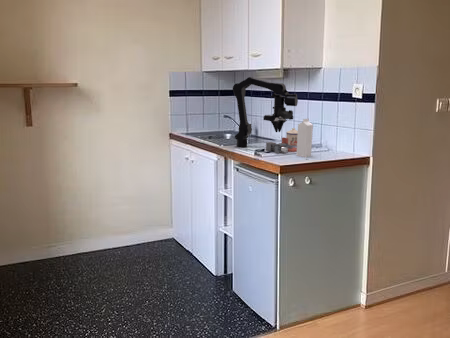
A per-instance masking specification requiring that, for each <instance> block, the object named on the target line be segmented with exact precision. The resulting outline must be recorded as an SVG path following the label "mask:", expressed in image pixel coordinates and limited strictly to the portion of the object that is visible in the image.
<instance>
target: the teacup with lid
mask: <svg viewBox="0 0 450 338" xmlns="http://www.w3.org/2000/svg"><path fill="white" fill-rule="evenodd" d="M285 133H286V135H285V138H288V146H292V147H294V146H295V147H297V136H298V129H296V128H295V127H293V128H291V129H290V130H287V131H286V132H285Z"/></svg>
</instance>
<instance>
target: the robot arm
mask: <svg viewBox="0 0 450 338" xmlns="http://www.w3.org/2000/svg"><path fill="white" fill-rule="evenodd" d="M251 85H253V86H256V87H260V88H264V89H268V90H269V91H271V92H272V93H273V94H272V95H271V96H270V98H274V99H273V100H274V103H273V106H272V109H273V113H272V114H265V115H263V119H262V120H263V121H268V122H270V123H271V124H272V127H273V129H274V131H275V133H281V130H282V128H283V126H284V123H287V121H288V120H289V121H290V120H294V111H293V110H292V109H291V110H286V107H285V105H286V106H287V107H288V106H289V107H297V106H298V103H299V100H298V95H297V93H293V94H291V93H289V91H288V90H287V88H286V84H285V83H283V82H281V83H280V82H270V81H267V80H262V79H259V78H255V77H253V76H249V77H247V78H245V79H244V80H242V81H239V82H238V83H237V82H236V83H234V84H233V86H232V92H233V94H234V97H235V98H236V102H237V110H238V116H239V126H238V132H237V133H236V134H235V135H234V138H235V140H236V147H237V148H247V147H248V139H249V136H250V135H251V134H252V131H253V129H252V123H249V121H248V115H247V107H246V100H245V96H246V92H247V91H246V89H247V88H249V87H250V86H251Z"/></svg>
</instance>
